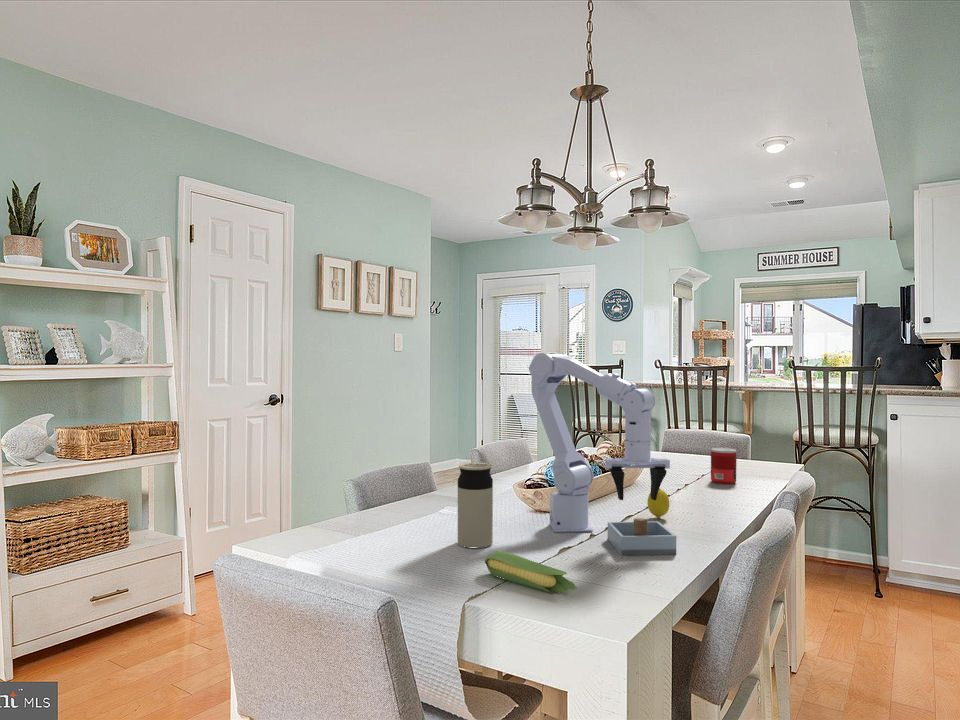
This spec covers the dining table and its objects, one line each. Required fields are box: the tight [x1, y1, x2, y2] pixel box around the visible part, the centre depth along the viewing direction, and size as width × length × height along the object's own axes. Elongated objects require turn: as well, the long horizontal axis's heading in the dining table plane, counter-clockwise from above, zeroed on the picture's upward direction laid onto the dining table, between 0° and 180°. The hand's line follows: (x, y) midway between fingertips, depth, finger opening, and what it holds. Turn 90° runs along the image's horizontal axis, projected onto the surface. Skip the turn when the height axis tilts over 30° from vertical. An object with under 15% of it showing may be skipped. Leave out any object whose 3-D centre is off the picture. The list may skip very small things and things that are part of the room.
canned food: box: [710, 447, 737, 485], centre depth 218 cm, size 8×8×11 cm
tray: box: [607, 520, 677, 556], centre depth 147 cm, size 12×12×4 cm
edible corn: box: [484, 550, 578, 595], centre depth 124 cm, size 5×20×5 cm
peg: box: [633, 517, 648, 536], centre depth 147 cm, size 3×3×6 cm
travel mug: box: [457, 461, 494, 548], centre depth 149 cm, size 8×8×18 cm
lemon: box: [647, 487, 670, 519], centre depth 172 cm, size 6×6×8 cm
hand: (637, 499), depth 151 cm, fingers open, 7 cm apart
